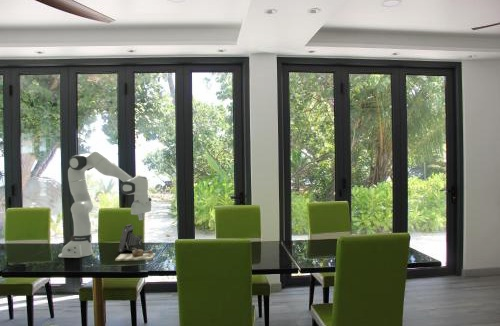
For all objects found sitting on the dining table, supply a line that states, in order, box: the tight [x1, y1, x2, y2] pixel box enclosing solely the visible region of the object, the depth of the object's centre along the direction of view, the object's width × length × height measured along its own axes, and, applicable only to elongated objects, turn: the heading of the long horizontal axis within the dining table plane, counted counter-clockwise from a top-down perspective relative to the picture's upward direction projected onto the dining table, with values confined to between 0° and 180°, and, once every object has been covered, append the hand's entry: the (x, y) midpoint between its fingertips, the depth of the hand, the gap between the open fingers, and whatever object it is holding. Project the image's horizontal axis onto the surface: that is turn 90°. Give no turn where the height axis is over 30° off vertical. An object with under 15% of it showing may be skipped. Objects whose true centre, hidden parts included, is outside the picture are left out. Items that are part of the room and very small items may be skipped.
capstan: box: [131, 248, 153, 256], centre depth 262 cm, size 13×7×4 cm, turn 105°
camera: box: [118, 223, 145, 254], centre depth 279 cm, size 11×17×20 cm, turn 79°
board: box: [114, 252, 156, 262], centre depth 260 cm, size 24×14×2 cm, turn 95°
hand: (141, 219), depth 258 cm, fingers closed
